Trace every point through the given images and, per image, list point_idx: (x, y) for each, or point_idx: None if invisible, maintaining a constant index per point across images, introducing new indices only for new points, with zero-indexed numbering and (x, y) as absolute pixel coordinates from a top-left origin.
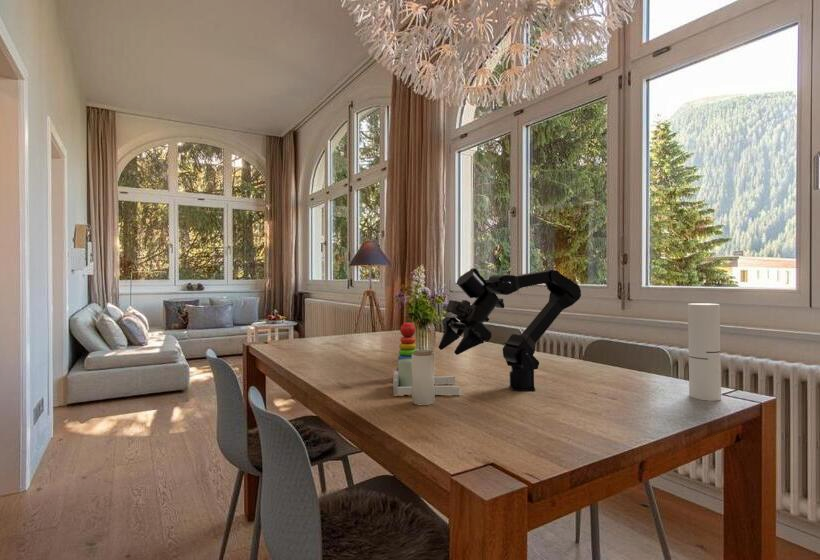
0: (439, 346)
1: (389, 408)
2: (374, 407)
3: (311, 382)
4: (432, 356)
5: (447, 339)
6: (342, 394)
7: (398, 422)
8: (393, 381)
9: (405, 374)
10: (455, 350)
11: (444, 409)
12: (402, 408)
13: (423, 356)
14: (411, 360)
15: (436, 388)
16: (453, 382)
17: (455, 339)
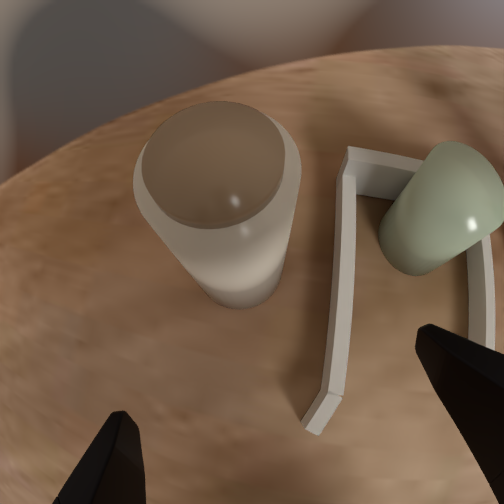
0: (425, 331)
1: None
2: None
3: (458, 49)
4: (156, 230)
5: (486, 418)
6: (366, 72)
7: (81, 178)
8: (348, 148)
9: (405, 190)
10: (112, 422)
11: (141, 323)
12: None
13: (136, 163)
14: (470, 197)
15: (334, 331)
16: None
17: (497, 490)
